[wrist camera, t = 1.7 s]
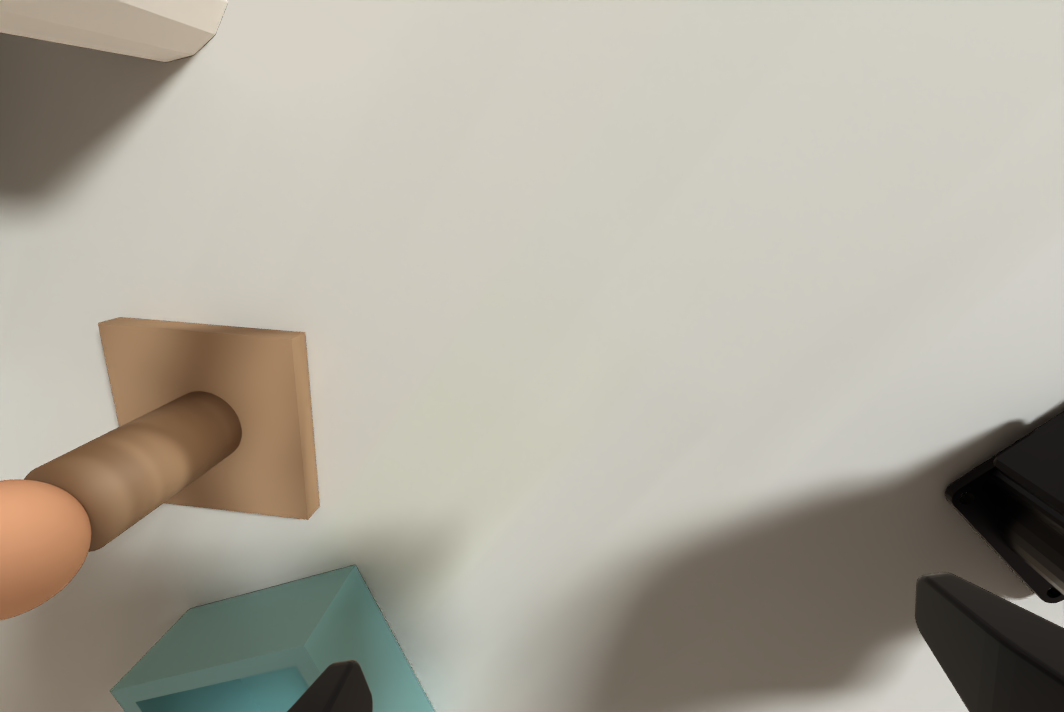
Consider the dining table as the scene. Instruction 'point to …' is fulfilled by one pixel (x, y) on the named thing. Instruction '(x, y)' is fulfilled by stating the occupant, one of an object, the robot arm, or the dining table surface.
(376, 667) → the teal open-top box
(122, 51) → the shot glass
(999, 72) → the dining table surface
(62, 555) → the ball
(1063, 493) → the robot arm
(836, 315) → the dining table surface
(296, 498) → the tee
